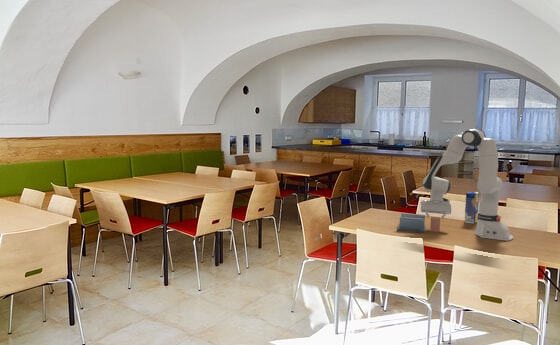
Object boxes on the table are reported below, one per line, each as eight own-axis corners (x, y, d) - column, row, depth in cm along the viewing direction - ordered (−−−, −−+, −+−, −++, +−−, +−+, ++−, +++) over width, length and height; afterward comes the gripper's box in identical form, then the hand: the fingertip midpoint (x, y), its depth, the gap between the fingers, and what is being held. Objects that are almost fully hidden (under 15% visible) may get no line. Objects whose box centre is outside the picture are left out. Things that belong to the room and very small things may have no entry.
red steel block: (439, 230, 294) (440, 217, 293) (439, 232, 290) (440, 219, 289) (430, 229, 296) (430, 216, 295) (430, 231, 292) (430, 218, 291)
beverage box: (477, 221, 325) (479, 192, 322) (474, 223, 316) (476, 194, 314) (467, 219, 329) (469, 191, 326) (464, 222, 320) (466, 193, 318)
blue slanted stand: (425, 226, 305) (426, 214, 304) (425, 233, 286) (425, 220, 285) (399, 224, 311) (400, 212, 310) (397, 230, 292) (397, 218, 291)
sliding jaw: (424, 224, 303) (425, 215, 302) (424, 225, 301) (424, 215, 300) (401, 222, 309) (401, 213, 308) (400, 223, 306) (401, 213, 306)
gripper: (420, 197, 304) (419, 213, 296) (451, 199, 297) (451, 216, 289) (420, 202, 309) (419, 218, 301) (451, 205, 302) (450, 221, 294)
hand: (435, 217), depth 295 cm, fingers open, 8 cm apart
